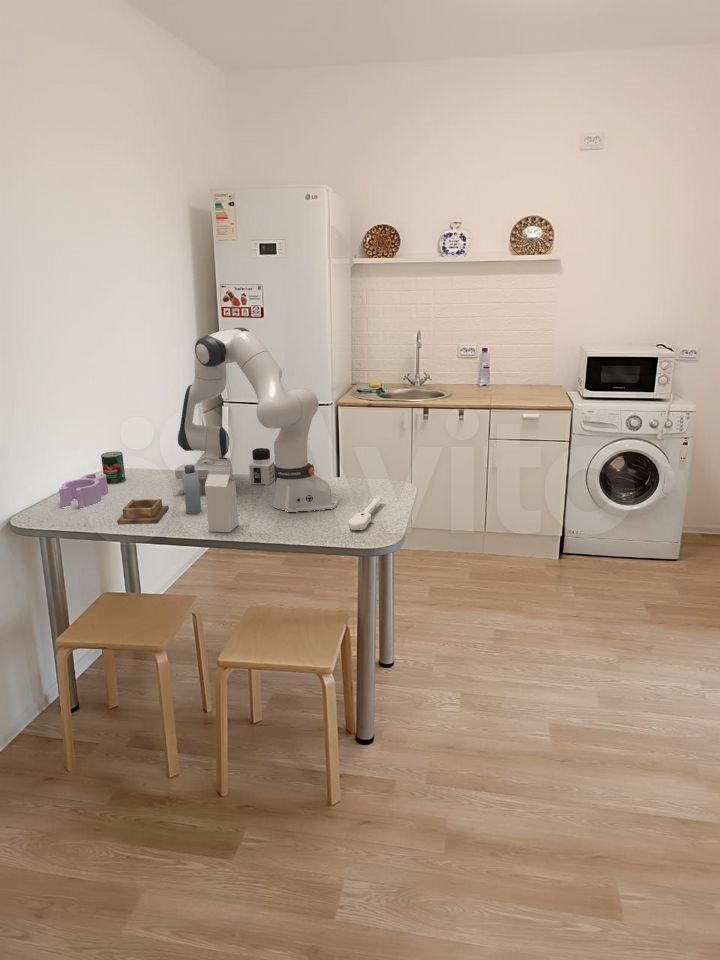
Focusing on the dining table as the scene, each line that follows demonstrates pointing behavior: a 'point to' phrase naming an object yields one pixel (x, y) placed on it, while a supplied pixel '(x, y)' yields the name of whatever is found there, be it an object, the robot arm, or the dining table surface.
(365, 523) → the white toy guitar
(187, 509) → the bottle
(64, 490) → the clip
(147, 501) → the carton stand
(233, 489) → the milk carton
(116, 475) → the canned tomato
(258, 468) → the container
